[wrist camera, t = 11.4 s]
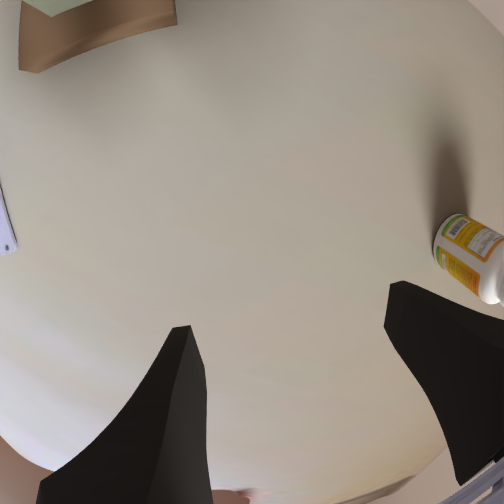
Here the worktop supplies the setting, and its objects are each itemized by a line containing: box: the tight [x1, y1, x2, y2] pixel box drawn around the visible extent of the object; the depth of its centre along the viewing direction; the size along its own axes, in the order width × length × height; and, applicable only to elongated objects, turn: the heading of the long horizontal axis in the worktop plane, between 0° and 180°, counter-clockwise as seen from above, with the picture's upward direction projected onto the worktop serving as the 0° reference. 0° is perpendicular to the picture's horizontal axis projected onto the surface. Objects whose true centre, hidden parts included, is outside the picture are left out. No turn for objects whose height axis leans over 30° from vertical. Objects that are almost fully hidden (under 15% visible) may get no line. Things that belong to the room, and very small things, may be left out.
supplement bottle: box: [433, 214, 504, 307], centre depth 18 cm, size 5×5×10 cm
